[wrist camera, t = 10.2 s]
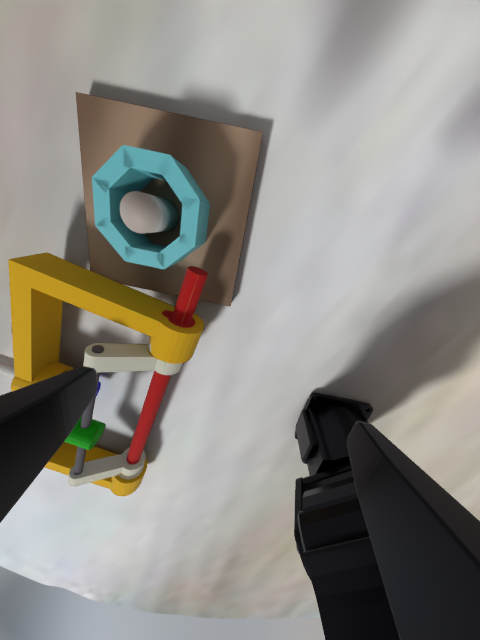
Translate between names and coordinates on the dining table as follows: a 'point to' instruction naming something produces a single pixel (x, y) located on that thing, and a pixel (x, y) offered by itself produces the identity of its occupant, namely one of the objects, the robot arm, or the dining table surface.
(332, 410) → the robot arm
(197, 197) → the ring
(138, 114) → the post stand
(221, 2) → the dining table surface
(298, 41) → the dining table surface
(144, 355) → the yellow jointed frame
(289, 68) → the dining table surface
